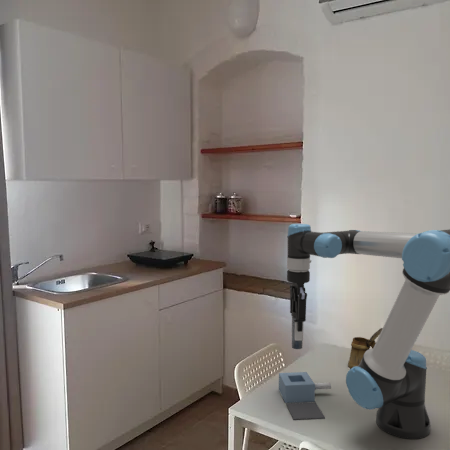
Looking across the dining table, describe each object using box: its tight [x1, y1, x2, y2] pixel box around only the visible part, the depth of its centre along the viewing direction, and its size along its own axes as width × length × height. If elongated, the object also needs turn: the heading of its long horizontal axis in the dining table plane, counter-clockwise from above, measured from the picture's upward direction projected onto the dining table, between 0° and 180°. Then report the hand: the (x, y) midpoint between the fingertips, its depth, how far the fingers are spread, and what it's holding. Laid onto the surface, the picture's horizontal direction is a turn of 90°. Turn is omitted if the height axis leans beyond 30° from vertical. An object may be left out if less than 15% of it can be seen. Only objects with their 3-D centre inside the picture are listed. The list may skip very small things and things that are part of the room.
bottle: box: [291, 311, 304, 350], centre depth 153 cm, size 4×4×12 cm
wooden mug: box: [347, 327, 383, 369], centre depth 177 cm, size 9×14×18 cm, turn 45°
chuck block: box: [278, 371, 332, 404], centre depth 155 cm, size 10×17×6 cm, turn 96°
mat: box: [285, 401, 326, 421], centre depth 144 cm, size 10×10×1 cm
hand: (297, 337), depth 153 cm, fingers closed on bottle, 4 cm apart
